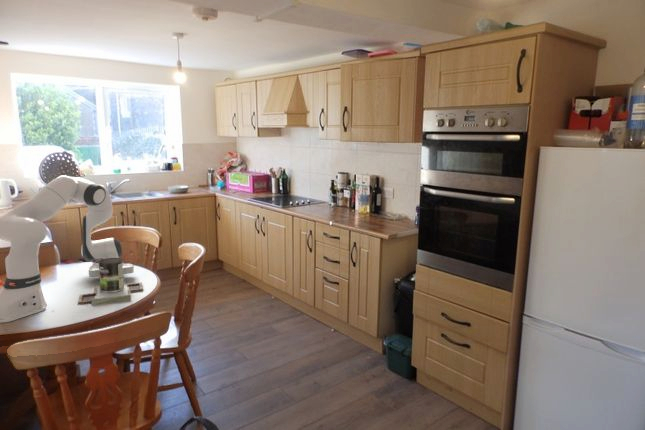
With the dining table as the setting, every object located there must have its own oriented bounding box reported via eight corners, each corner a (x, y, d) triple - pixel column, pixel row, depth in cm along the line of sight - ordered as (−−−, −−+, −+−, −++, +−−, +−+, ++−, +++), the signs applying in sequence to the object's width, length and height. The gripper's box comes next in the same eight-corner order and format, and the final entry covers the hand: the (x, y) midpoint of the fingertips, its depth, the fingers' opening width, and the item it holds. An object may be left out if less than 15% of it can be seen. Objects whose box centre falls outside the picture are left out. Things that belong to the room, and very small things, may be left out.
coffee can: (109, 294, 197) (107, 264, 195) (95, 290, 202) (93, 261, 199) (129, 287, 206) (127, 259, 204) (114, 284, 211) (113, 256, 208)
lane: (144, 298, 192) (143, 293, 192) (77, 307, 181) (77, 301, 181) (141, 282, 214) (141, 277, 214) (81, 289, 203) (81, 284, 202)
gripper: (133, 271, 226) (134, 278, 214) (90, 275, 217) (88, 283, 205) (133, 259, 225) (134, 266, 213) (89, 263, 216) (87, 270, 204)
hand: (111, 274), depth 209 cm, fingers closed
